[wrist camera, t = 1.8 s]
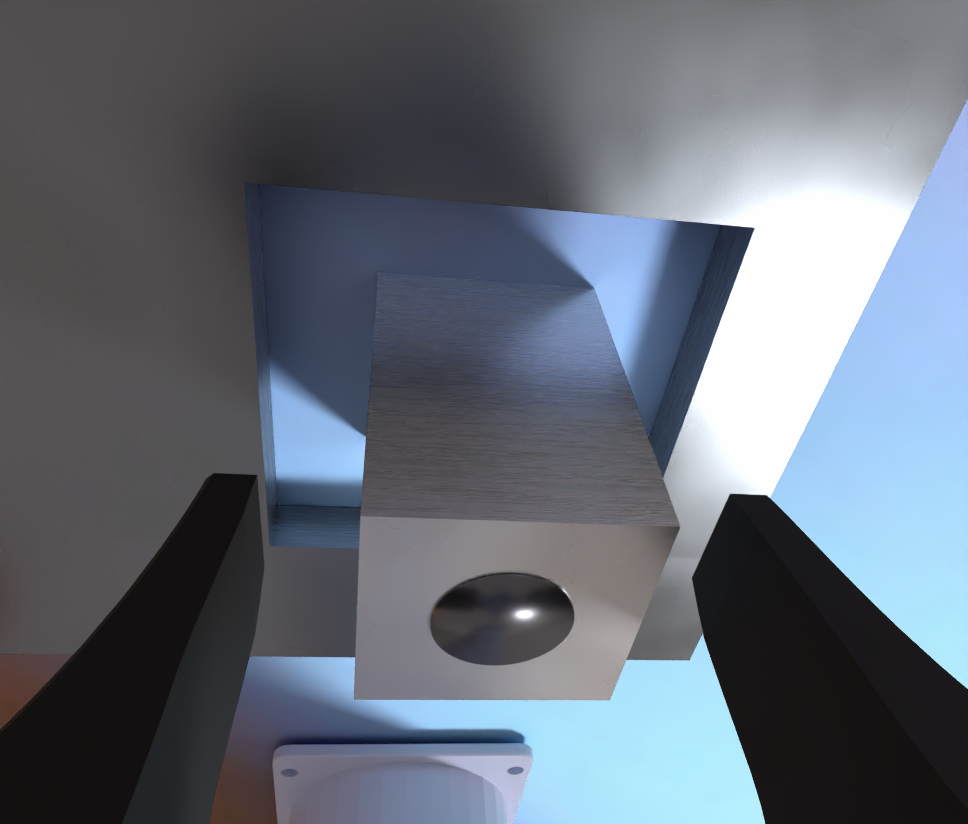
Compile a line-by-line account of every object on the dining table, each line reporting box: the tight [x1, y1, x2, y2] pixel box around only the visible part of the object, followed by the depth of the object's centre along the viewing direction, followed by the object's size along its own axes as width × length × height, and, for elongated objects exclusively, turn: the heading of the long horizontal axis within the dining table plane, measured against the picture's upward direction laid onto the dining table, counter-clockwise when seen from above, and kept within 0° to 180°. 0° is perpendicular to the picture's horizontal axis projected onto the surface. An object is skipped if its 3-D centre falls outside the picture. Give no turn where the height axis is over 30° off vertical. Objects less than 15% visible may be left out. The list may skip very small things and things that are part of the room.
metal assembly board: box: [0, 0, 968, 660], centre depth 14 cm, size 16×30×1 cm, turn 83°
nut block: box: [354, 272, 680, 700], centre depth 13 cm, size 4×4×6 cm
